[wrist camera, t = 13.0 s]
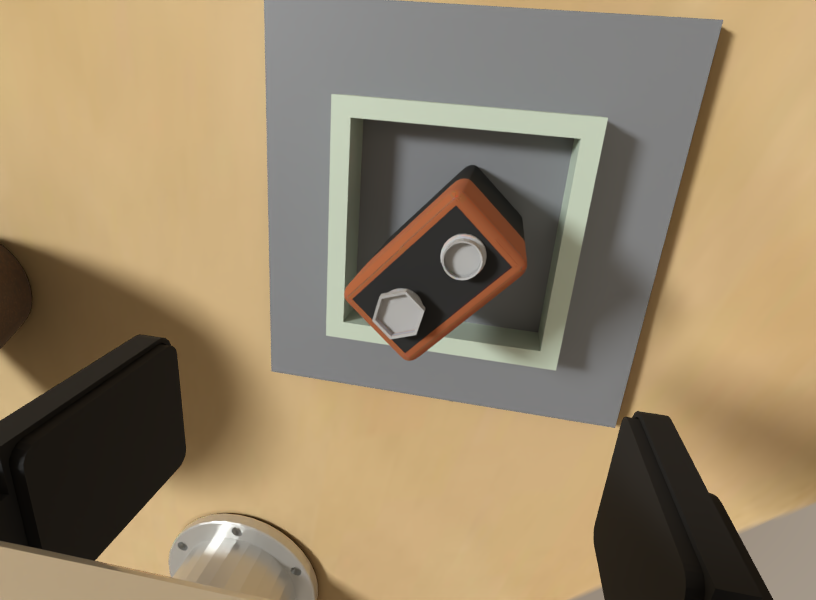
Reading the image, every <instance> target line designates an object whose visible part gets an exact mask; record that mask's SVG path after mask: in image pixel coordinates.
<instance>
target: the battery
mask: <svg viewBox="0 0 816 600" xmlns="http://www.w3.org/2000/svg"><path fill="white" fill-rule="evenodd" d="M526 268H527V257H526V248H525V238H524V229H523V220H522V217H521V215H520V214H519V213H518V212H517V210H516V209H515V208H514V207H513V206H512V205H511V204H510V203H509V201H508V200H507V199H506V198H505V197H504V196H503V195H502V194H501V192H500V191H499V190H498V189H497V188H496V187H495V186H494V184H493V183H492V182H491V181H490V180H489V179H488V178H487V177H486V175H485V174H484V173H483V172H482V171H481V170H480V169H479V168H478V167H477V166H476V165H469V166H467V167H465V168H464V169H463V170H462V171H461V172H459V173H458V174H457V175H456V176H455V177H454V178H453V179H452V180H451V181H450V182H449V183H448V184H447V185H445V186H444V187H443V188H442V189H441V190H440V191H439V192H438V193H437V194H436V195H435V196H434V197H433V198H431V199H430V200H429V201H428V202H427V203H426V204H425V205H424V206H423V207H422V208H421V209H420V210H419V211H418V212H416V213H415V214H414V215H413V216H412V217H411V218H410V219H409V220H408V221H407V222H406V223H405V224H404V225H402V226H401V227H400V228H399V229H398V230H397V231H396V232H395V233H394V234H393V235H392V236H391V237H390V238H389V239H388V240H387V241H386V242H385V243H384V244H383V246H382V247H381V248H380V249H379V250H378V251H377V252H376V253H375V255H374V256H373V257H372V258H371V259H370V260H369V261H368V263H367V264H366V265H365V266H364V267H363V268H362V269H361V271H360V272H359V273H358V274H357V275H356V276H355V277H354V279H353V280H352V281H351V282H350V283H349V284H348V286H347V287H346V289H345V291H344V297H345V300H346V301H347V302H348V303H349V304H350V305H351V306H352V307H353V308H354V309H355V310H356V311H357V312H358V313H359V314H360V315H361V316H362V317H363V318H364V319H365V320H366V322H367V323H368V324H369V325H370V326H371V327H372V328H373V329H374V330H375V331H376V332H377V333H378V334H379V335H380V336H381V337H382V338H383V339H384V340H385V341H386V342H387V343H388V344H389V345H390V346H391V347H392V348H393V349H394V350H395V351H396V352H397V353H398V354H399V355H400V356H401V357H402V358H403V359H404V360H407V361H412V360H415V359H416V358H418V357H419V356H421V355H422V354H423V353H425V352H426V351H427V350H428V349H430V348H431V347H432V346H433V345H435V344H436V343H437V342H439V341H440V340H441V339H442V338H444V337H445V336H446V335H447V334H449V333H450V332H451V331H453V330H454V329H455V328H456V327H458V326H459V325H460V324H461V323H463V322H464V321H465V320H466V319H468V318H469V317H470V316H472V315H473V314H474V313H475V312H477V311H478V310H479V309H480V308H482V307H483V306H484V305H486V304H487V303H488V302H489V301H491V300H492V299H493V298H494V297H496V296H497V295H498V294H499V293H501V292H502V291H503V290H505V289H506V288H507V287H508V286H510V285H511V284H512V283H513V282H515V281H516V280H517V279H518V278H519V277H521V276H522V275H523V274H524V272H525V271H526Z"/></svg>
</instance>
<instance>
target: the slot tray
mask: <svg viewBox="0 0 816 600" xmlns="http://www.w3.org/2000/svg"><path fill="white" fill-rule="evenodd" d="M264 19H265V69H266V118H267V168H268V218H269V268H270V318H271V368H272V371H273V372H279V373H285V374H291V375H297V376H303V377H309V378H315V379H321V380H327V381H333V382H339V383H345V384H352V385H358V386H364V387H370V388H376V389H382V390H388V391H394V392H400V393H406V394H412V395H418V396H424V397H431V398H437V399H443V400H449V401H455V402H461V403H467V404H473V405H479V406H485V407H491V408H497V409H503V410H510V411H516V412H522V413H528V414H534V415H540V416H546V417H552V418H558V419H564V420H570V421H576V422H582V423H589V424H595V425H601V426H607V427H613V428H615V426H616V422H617V419H618V415H619V411H620V407H621V404H622V400H623V396H624V392H625V388H626V385H627V381H628V377H629V373H630V370H631V366H632V362H633V358H634V355H635V351H636V347H637V343H638V339H639V336H640V332H641V328H642V324H643V321H644V317H645V313H646V309H647V306H648V302H649V298H650V294H651V290H652V287H653V283H654V279H655V275H656V272H657V268H658V264H659V260H660V256H661V253H662V249H663V245H664V241H665V238H666V234H667V230H668V226H669V223H670V219H671V215H672V211H673V207H674V204H675V200H676V196H677V192H678V189H679V185H680V181H681V177H682V174H683V170H684V166H685V162H686V158H687V155H688V151H689V147H690V143H691V140H692V136H693V132H694V128H695V125H696V121H697V117H698V113H699V109H700V106H701V102H702V98H703V94H704V91H705V87H706V83H707V79H708V76H709V72H710V68H711V64H712V60H713V57H714V53H715V49H716V45H717V42H718V38H719V34H720V30H721V26H722V23H723V20H715V19H698V18H681V17H664V16H647V15H631V14H614V13H597V12H580V11H564V10H547V9H530V8H513V7H497V6H480V5H463V4H446V3H429V2H413V1H396V0H264ZM469 165H476V166H477V167H478V168H479V169H480V170H481V171H482V172H483V173H484V174H485V175H486V177H487V178H488V179H489V180H490V181H491V182H492V183H493V184H494V186H495V187H496V188H497V189H498V190H499V191H500V192H501V194H502V195H503V196H504V197H505V198H506V199H507V200H508V201H509V203H510V204H511V205H512V206H513V207H514V208H515V209H516V210H517V212H518V213H519V214H520V215H521V217H522V220H523V229H524V238H525V248H526V257H527V268H526V271H525V272H524V274H523V275H522V276H521V277H519V278H518V279H517V280H516V281H515V282H513V283H512V284H511V285H510V286H508V287H507V288H506V289H505V290H503V291H502V292H501V293H499V294H498V295H497V296H496V297H494V298H493V299H492V300H491V301H489V302H488V303H487V304H486V305H484V306H483V307H482V308H480V309H479V310H478V311H477V312H475V313H474V314H473V315H472V316H470V317H469V318H468V319H466V320H465V321H464V322H463V323H461V324H460V325H459V326H458V327H456V328H455V329H454V330H453V331H451V332H450V333H449V334H447V335H446V336H445V337H444V338H442V339H441V340H440V341H439V342H437V343H436V344H435V345H433V346H432V347H431V348H430V349H428V350H427V351H426V352H425V353H423V354H422V355H421V356H419V357H418V358H416V359H415V360H412V361H407V360H404V359H403V358H402V357H401V356H400V355H399V354H398V353H397V352H396V351H395V350H394V349H393V348H392V347H391V346H390V345H389V344H388V343H387V342H386V341H385V340H384V339H383V338H382V337H381V336H380V335H379V334H378V333H377V332H376V331H375V330H374V329H373V328H372V327H371V326H370V325H369V324H368V323H367V322H366V320H365V319H364V318H363V317H362V316H361V315H360V314H359V313H358V312H357V311H356V310H355V309H354V308H353V307H352V306H351V305H350V304H349V303H348V302H347V301H346V300H345V297H344V291H345V289H346V287H347V286H348V284H349V283H350V282H351V281H352V280H353V279H354V277H355V276H356V275H357V274H358V273H359V272H360V271H361V269H362V268H363V267H364V266H365V265H366V264H367V263H368V261H369V260H370V259H371V258H372V257H373V256H374V255H375V253H376V252H377V251H378V250H379V249H380V248H381V247H382V246H383V244H384V243H385V242H386V241H387V240H388V239H389V238H390V237H391V236H392V235H393V234H394V233H395V232H396V231H397V230H398V229H399V228H400V227H401V226H402V225H404V224H405V223H406V222H407V221H408V220H409V219H410V218H411V217H412V216H413V215H414V214H415V213H416V212H418V211H419V210H420V209H421V208H422V207H423V206H424V205H425V204H426V203H427V202H428V201H429V200H430V199H431V198H433V197H434V196H435V195H436V194H437V193H438V192H439V191H440V190H441V189H442V188H443V187H444V186H445V185H447V184H448V183H449V182H450V181H451V180H452V179H453V178H454V177H455V176H456V175H457V174H458V173H459V172H461V171H462V170H463V169H464V168H465V167H467V166H469Z"/></svg>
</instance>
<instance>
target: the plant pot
mask: <svg viewBox="0 0 816 600" xmlns="http://www.w3.org/2000/svg"><path fill="white" fill-rule="evenodd" d="M31 305H32V295H31V289H30V285H29V282H28V279H27V276H26V274H25V272H24V270H23V268H22V267H21V265H20V264H19V262H18V261H17V260H16V258H15V257H14V256H13V255H12V254H11V253H10V252H9V251H8V250H7V249H6V248H5V247H3V246H2V245H1V244H0V348H1V347H2V346H3V345H4V344H5V343H6V342H7V341H8V340H9V339H10V337H11V336H12V335H13V334H14V333H15V332H16V331H17V330H18V329H19V327H20V326H21V325H22V324H23V323H24V321H25V320H26V319H27V317H28V315H29V313H30V310H31Z"/></svg>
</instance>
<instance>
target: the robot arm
mask: <svg viewBox="0 0 816 600" xmlns="http://www.w3.org/2000/svg"><path fill="white" fill-rule="evenodd" d="M185 453H186V444H185V433H184V423H183V412H182V402H181V391H180V381H179V370H178V360H177V352H176V349H175V348H174V347H173V346H171V344H170V342H169V341H168V340H167V339H166V338H160V337H153V336H147V335H137V336H135V337H133V338H132V339H130V340H128V341H127V342H125V343H124V344H122V345H120V346H119V347H117V348H116V349H114V350H112V351H111V352H109V353H108V354H106V355H104V356H103V357H101V358H100V359H98V360H97V361H95V362H93V363H92V364H90V365H89V366H87V367H85V368H84V369H82V370H81V371H79V372H77V373H76V374H74V375H73V376H71V377H69V378H68V379H66V380H65V381H63V382H61V383H60V384H58V385H57V386H55V387H53V388H52V389H50V390H49V391H47V392H45V393H44V394H42V395H41V396H39V397H37V398H36V399H34V400H33V401H31V402H29V403H28V404H26V405H25V406H23V407H21V408H20V409H18V410H17V411H15V412H13V413H12V414H10V415H9V416H7V417H5V418H4V419H2V420H1V421H0V600H317V597H318V583H317V579H316V574H315V572H314V570H313V568H312V565H311V563H310V562H309V560H308V559H307V557H306V556H305V554H304V553H303V551H302V550H301V549H300V548H299V547H298V546H297V545H296V544H295V543H294V542H293V541H292V540H291V539H289V538H288V537H287V536H286V535H284V534H283V533H282V532H280V531H279V530H277V529H275V528H274V527H272V526H270V525H268V524H266V523H264V522H261V521H259V520H256V519H254V518H250V517H246V516H242V515H236V514H225V513H224V514H212V515H208V516H204V517H201V518H198V519H197V520H195V521H193V522H191V523H190V524H188V525H187V526H186V527H185V528H184V529H183V530H182V531H181V533H180V534H179V535H178V537H177V538H176V539H175V541H174V542H173V545H172V547H171V550H170V553H169V570H170V574H171V577H167V576H163V575H158V574H154V573H149V572H144V571H140V570H135V569H130V568H126V567H121V566H116V565H112V564H107V563H102V562H98V561H95V560H96V559H97V558H98V557H99V555H100V554H101V553H102V552H103V551H104V550H105V549H106V548H107V547H108V546H109V544H110V543H111V542H112V541H113V540H114V539H115V538H116V537H117V536H118V534H119V533H120V532H121V531H122V530H123V529H124V528H125V527H126V526H127V524H128V523H129V522H130V521H131V520H132V519H133V518H134V517H135V516H136V515H137V513H138V512H139V511H140V510H141V509H142V508H143V507H144V506H145V505H146V503H147V502H148V501H149V500H150V499H151V498H152V497H153V496H154V495H155V493H156V492H157V491H158V490H159V489H160V488H161V487H162V486H163V485H164V484H165V482H166V481H167V480H168V479H169V478H170V477H171V476H172V475H173V474H174V472H175V471H176V470H177V469H178V468H179V467H180V465H181V464H182V462H183V460H184V457H185ZM594 547H595V552H596V557H597V562H598V567H599V573H600V578H601V583H602V588H603V593H604V598H605V600H773V598H772V596H771V594H770V593H769V591H768V589H767V587H766V585H765V583H764V581H763V580H762V578H761V576H760V574H759V572H758V570H757V568H756V566H755V564H754V563H753V561H752V559H751V557H750V555H749V553H748V551H747V550H746V548H745V546H744V544H743V542H742V540H741V538H740V536H739V534H738V533H737V531H736V529H735V527H734V525H733V523H732V521H731V520H730V518H729V516H728V514H727V512H726V510H725V508H724V506H723V505H722V503H721V501H720V500H719V499H718V497H717V496H715V495H713V494H711V493H709V492H708V490H707V488H706V486H705V485H704V483H703V481H702V479H701V477H700V475H699V473H698V471H697V469H696V467H695V465H694V463H693V461H692V459H691V457H690V455H689V453H688V452H687V450H686V448H685V446H684V444H683V442H682V440H681V438H680V436H679V434H678V432H677V430H676V428H675V426H674V424H673V422H672V420H671V419H670V417H669V416H665V415H658V414H652V413H646V412H639V411H637V412H635V413H634V415H633V417H632V418H629V417H624V418H623V420H622V423H621V426H620V430H619V434H618V438H617V441H616V445H615V449H614V453H613V457H612V461H611V464H610V468H609V472H608V476H607V480H606V484H605V487H604V491H603V495H602V499H601V503H600V506H599V510H598V514H597V518H596V522H595V526H594Z"/></svg>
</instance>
